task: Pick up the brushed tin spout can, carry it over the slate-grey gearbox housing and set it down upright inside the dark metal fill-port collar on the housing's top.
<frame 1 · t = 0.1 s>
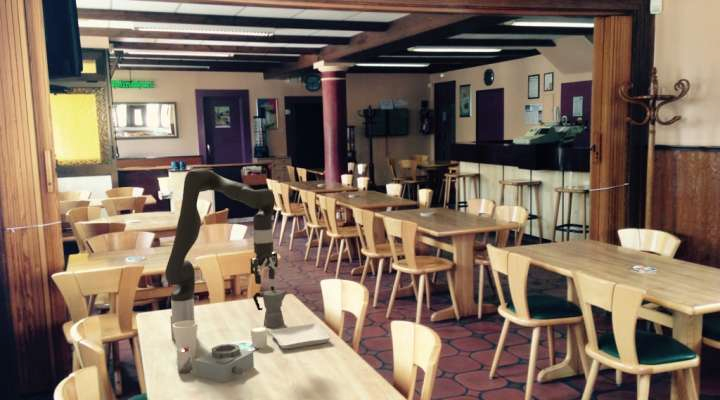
hand: (265, 281, 246), 29 cm above the table, tool pointing down, fingers open, 8 cm apart
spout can: (185, 371, 233), on the table
cream short cylinder: (259, 346, 259), on the table
foam cup: (186, 356, 249), on the table
coffeepot: (271, 325, 286), on the table
gearbox: (225, 371, 232), on the table
salad plate: (299, 341, 264), on the table
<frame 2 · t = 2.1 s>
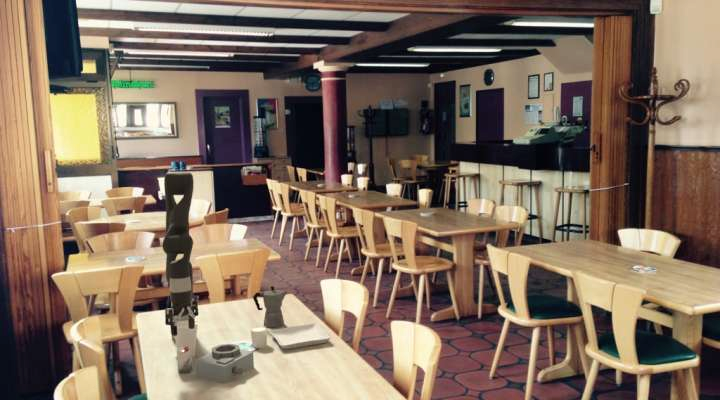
hand: (183, 331, 232), 15 cm above the table, tool pointing down, fingers open, 8 cm apart
nothing on the table moved.
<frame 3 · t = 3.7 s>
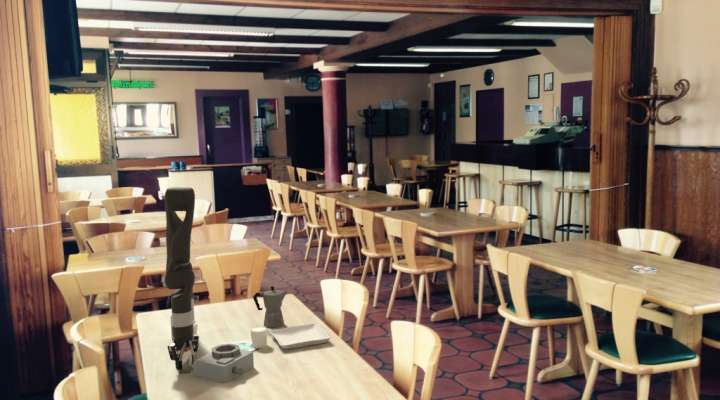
hand: (185, 367, 233), 1 cm above the table, tool pointing down, fingers closed on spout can, 5 cm apart
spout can: (185, 370, 233), on the table, touching gripper
everything else where it was.
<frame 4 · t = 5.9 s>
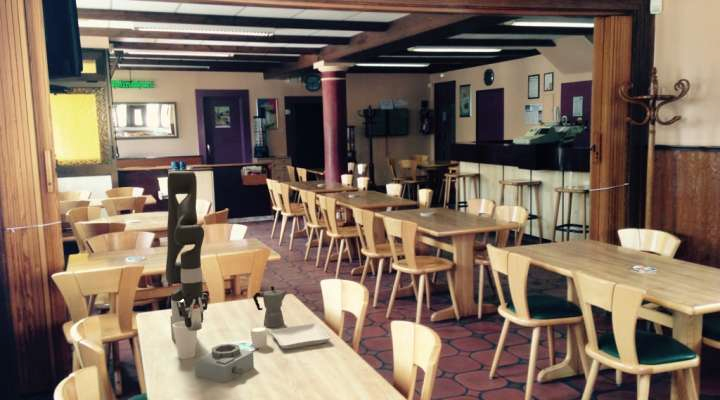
hand: (194, 324, 231), 18 cm above the table, tool pointing down, fingers closed on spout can, 5 cm apart
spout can: (194, 328, 231), point 16 cm above the table, touching gripper
everything else where it was.
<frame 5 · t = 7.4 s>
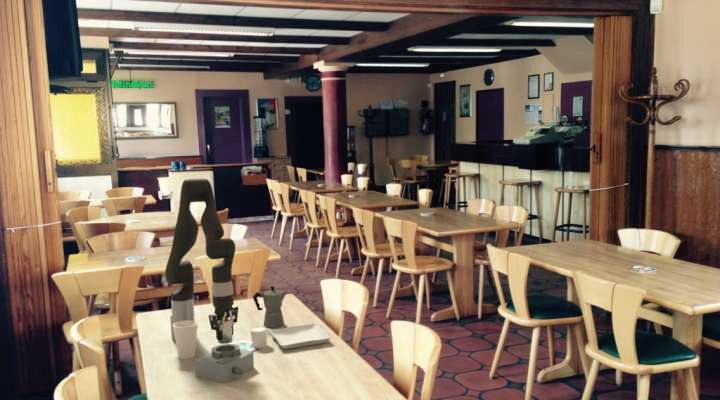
hand: (225, 337, 233), 12 cm above the table, tool pointing down, fingers closed on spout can, 5 cm apart
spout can: (225, 341, 233), point 11 cm above the table, touching gripper
everything else where it was.
when the fingers open (9 cm above the table, at t = 8.4 s): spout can drops 2 cm, resting on gearbox.
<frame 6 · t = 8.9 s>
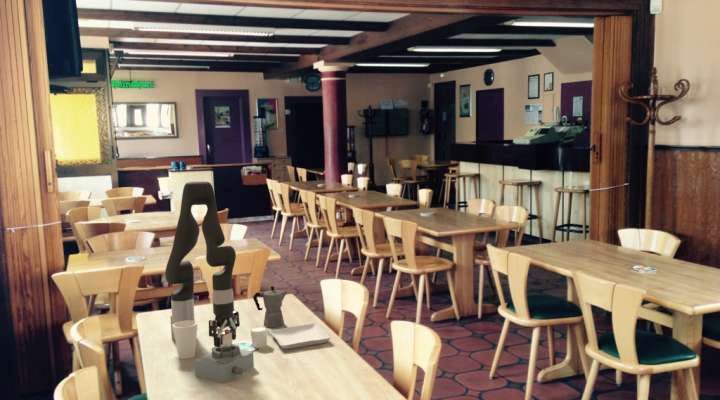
hand: (225, 343, 233), 10 cm above the table, tool pointing down, fingers open, 8 cm apart
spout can: (225, 353, 233), point 6 cm above the table, touching gearbox
everything else where it was.
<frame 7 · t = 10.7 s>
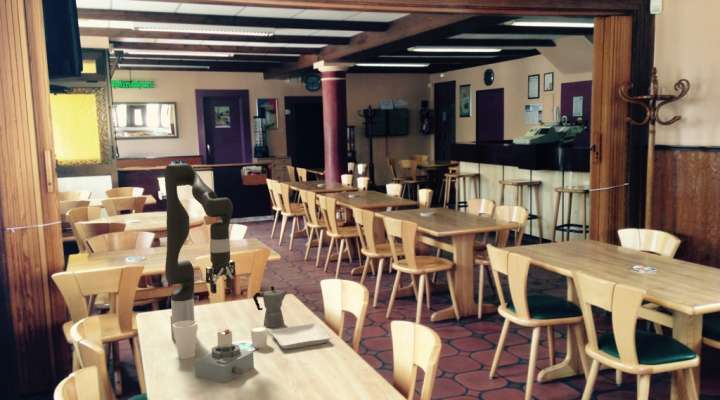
hand: (221, 290, 245), 26 cm above the table, tool pointing down, fingers open, 8 cm apart
nothing on the table moved.
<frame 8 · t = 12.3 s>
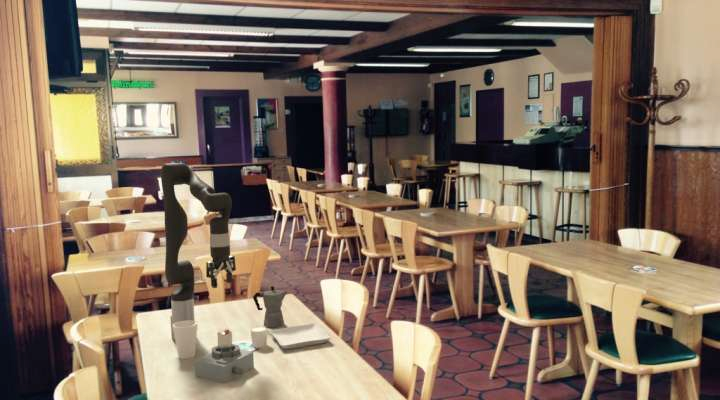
hand: (222, 285, 247), 28 cm above the table, tool pointing down, fingers open, 8 cm apart
nothing on the table moved.
at the end: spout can 0.1 cm from the target spot on the gearbox, point 6.0 cm above the gearbox's base; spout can tilted 0°; the gripper is holding nothing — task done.
